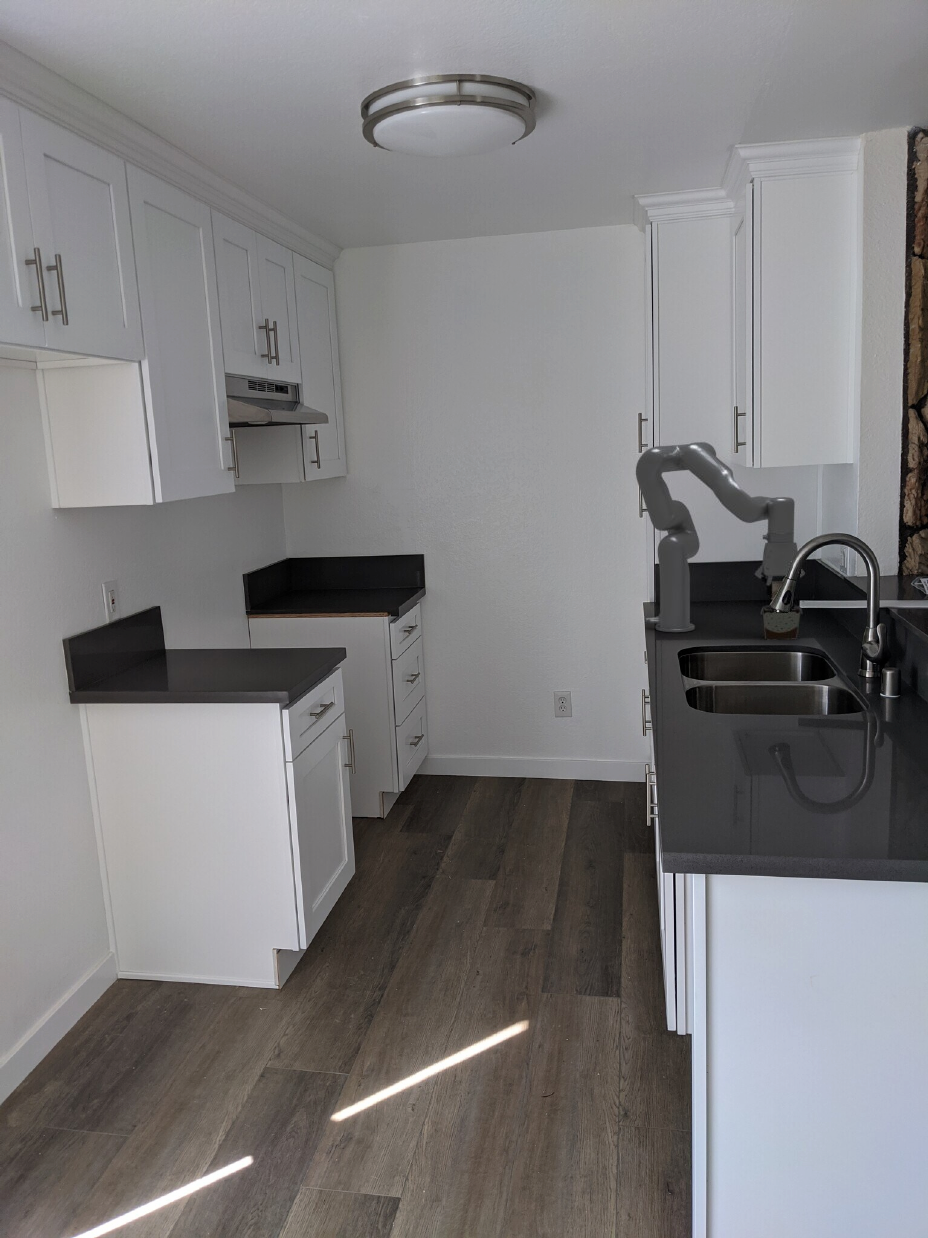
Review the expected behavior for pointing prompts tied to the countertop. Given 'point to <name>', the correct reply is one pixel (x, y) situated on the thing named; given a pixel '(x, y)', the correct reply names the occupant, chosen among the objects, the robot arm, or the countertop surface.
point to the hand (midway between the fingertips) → (779, 596)
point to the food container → (781, 623)
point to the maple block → (775, 587)
